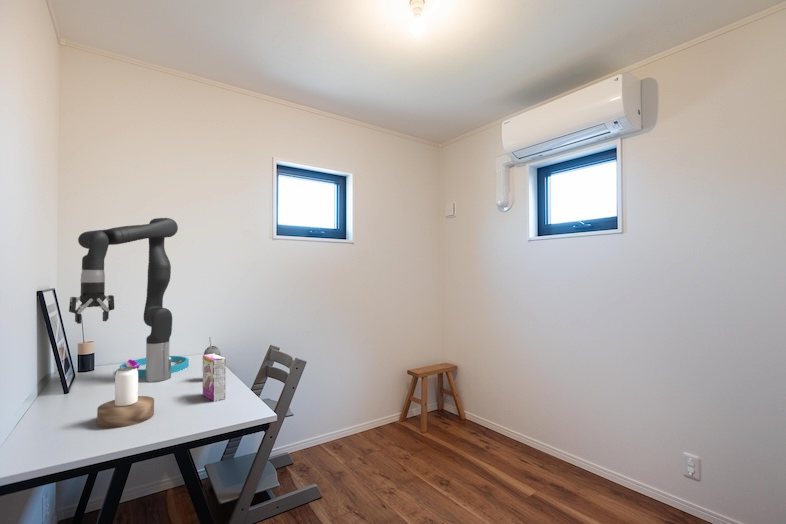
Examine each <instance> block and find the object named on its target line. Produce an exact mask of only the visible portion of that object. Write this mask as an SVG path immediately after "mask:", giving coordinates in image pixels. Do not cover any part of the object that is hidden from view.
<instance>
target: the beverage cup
mask: <svg viewBox="0 0 786 524" xmlns="http://www.w3.org/2000/svg"><path fill="white" fill-rule="evenodd" d="M220 350H221V349H219V348H218V347H217V346H216V345H212V338H211V336H209V346H208V347H207V348H205V349H204V352H203V355H208V354H216V355H219V356H221V351H220Z"/></svg>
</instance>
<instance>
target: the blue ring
mask: <svg viewBox="0 0 786 524" xmlns="http://www.w3.org/2000/svg"><path fill="white" fill-rule="evenodd" d="M169 357H171V362H178V363H173V364H172V365H171V374H174V372H175V373H178V372H181V371H184V370H186V369H187V368H188V367H189V363H190V362H189V358H188V357H186V356H181V355H169ZM145 364H146V357H143V358H138V359H133V360H132V359H128V360H127V361H125V362H123V363H121V364H120V365H119V368H123V367H137V368H136V369H137V371H138V378H146V368H140V367H141V366H146V365H145ZM140 365H141V366H140ZM185 368H186V369H185ZM183 369H184V370H183ZM180 370H181V371H180Z"/></svg>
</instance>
